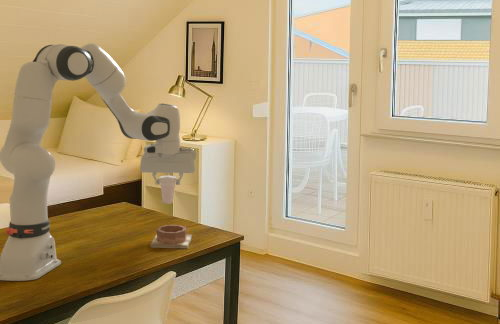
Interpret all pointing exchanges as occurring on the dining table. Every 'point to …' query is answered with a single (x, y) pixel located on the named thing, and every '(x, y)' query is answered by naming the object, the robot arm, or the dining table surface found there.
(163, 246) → the bottle stand
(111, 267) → the dining table surface
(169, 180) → the smoothie
